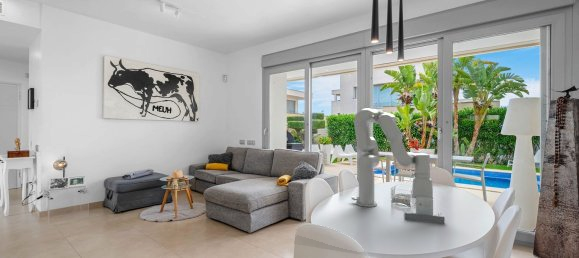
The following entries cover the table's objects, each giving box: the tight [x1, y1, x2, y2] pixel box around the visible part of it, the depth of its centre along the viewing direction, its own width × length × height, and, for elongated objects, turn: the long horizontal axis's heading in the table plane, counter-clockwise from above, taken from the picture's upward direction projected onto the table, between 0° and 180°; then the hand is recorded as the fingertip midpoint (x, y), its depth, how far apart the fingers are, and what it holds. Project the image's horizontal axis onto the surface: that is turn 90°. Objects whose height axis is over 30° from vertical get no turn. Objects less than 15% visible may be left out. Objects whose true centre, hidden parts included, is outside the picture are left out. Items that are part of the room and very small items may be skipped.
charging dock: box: [403, 209, 446, 225], centre depth 149 cm, size 18×13×4 cm
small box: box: [414, 196, 434, 215], centre depth 150 cm, size 8×6×10 cm
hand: (422, 208), depth 155 cm, fingers closed
